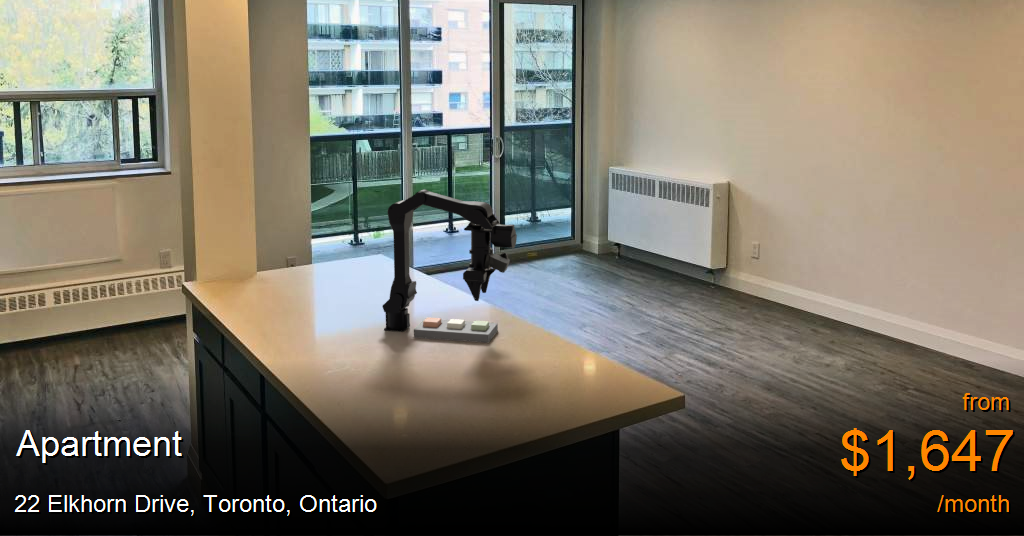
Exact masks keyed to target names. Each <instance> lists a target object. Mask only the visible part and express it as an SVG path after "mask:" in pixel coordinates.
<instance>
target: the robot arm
mask: <svg viewBox="0 0 1024 536" xmlns="http://www.w3.org/2000/svg"><path fill="white" fill-rule="evenodd" d="M421 206H426V207H429V208H433V209H437V210H441V211H444V212H448V213H450V214H455V215H458V216H460V217H462V218H463V219H464V220H465V221H468V223H467V224H468V225H467V226H466V227H464V228H463V230H464V231H466V232H467V231H468V232H470V235H471V236H470V240H471V241H470V249H469V252H468V253H469V254H470V263H469V264H468V265H469V267H468V268H466V270H465V271H463V273H462V279H463V280H464V282H465V283H466V285H467V287H468V288H469V291H470V294H471V295H472V298H473V300H474V301H475V302H478V301H479V300H480V297H481V293H482V294H486V293H487V290H488V286H489V282H490V279H491V278H490V277H491V275H492V274H493V273H494V272H495V271H498V272H500V273H502V274H503V273H506V271H507V269H508V267H509V266H510V265H509V264H510V261H511V260H510V258H509V253H507V252H501V254H500V255H499V254H498V253H497V254H496V253H494V249H493V247H495V248H506V249H507V248H508V249H515V247H516V244H517V236H518V235H517V231H516V229H515V225H514V224H501V223H500V221H499V220H498V219H497V217H496V216H495V214H494V210H493V208H492V206H491V204H489V203H488V202H486V201H485V202H484V201H474V200H473V201H470V200H469V201H467V200H465V201H464V200H461V199H458V198H454V197H452V196H451V197H450V196H447V195H443V194H439V193H436V192H433V191H429V190H428V189H422V190H418V191H417V192H415V194H414V195H411V196H410V197H408V198H407V199H403V200H399V201H397V202H394V203H392V204H391V205H390V206H389V207H388V209H387V217H388V222H389V226H390V228H391V230H392V232H393V280H392V283H391V287H390V291H389V299H387V301H385V302H384V304H382V310H383V312H384V313H385V327H384V328H383V331H388V332H390V331H391V332H402V333H403V332H405V331H407V329H409V328H410V327H411V323H410V322H411V320H410V317H411V316H410V313H409V309H408V307H409V306H410V303H411V302H412V301H413V300H414V299H415V297H416V294H418V292H417V281H416V280H414V281H412V279H411V276H410V243H409V242H410V238H409V237H410V235H409V233H410V227H411V225H412V222H413V216H414V211H416V210H417V209H418V208H421ZM491 244H492V245H493V247H491Z"/></svg>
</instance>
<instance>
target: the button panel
mask: <svg viewBox="0 0 1024 536" xmlns="http://www.w3.org/2000/svg"><path fill="white" fill-rule="evenodd" d="M426 318H427V317H426ZM426 318H424V319H423V320H422V321H420V323H419V324H417V326H415V328H413V338H415V339H416V338H419V339H431V340H445V341H459V342H460V341H461V342H472V343H473V342H475V343H484V344H489V343H490V342H491V340H492V339H493V337H495V335H496V333H497V332H498V331H499V329H498V325H499V324H498V322H489V328H488V329H487V331H481V330H471V324H472V323H473V322H474V321H475V320H474V321H472V320H465V326H464V327H463V329H452V328H447V323H448V322H449V321H450V320H451V319H444V318H441V325H440V326H439V327H423V321H424V320H425V319H426Z"/></svg>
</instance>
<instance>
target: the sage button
mask: <svg viewBox="0 0 1024 536" xmlns="http://www.w3.org/2000/svg"><path fill="white" fill-rule="evenodd" d="M489 323H490V322H489V320H488V321H487V320H474V322H473V323H472V324H471V330H481V331H487V329H488V328H489Z"/></svg>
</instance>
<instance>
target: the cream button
mask: <svg viewBox="0 0 1024 536" xmlns="http://www.w3.org/2000/svg"><path fill="white" fill-rule="evenodd" d="M449 320H450V321H449V322H448V323H447V328H452V329H463V327H464V326H465V321H466V319H458V318H457V319H456V318H450V319H449Z"/></svg>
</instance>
